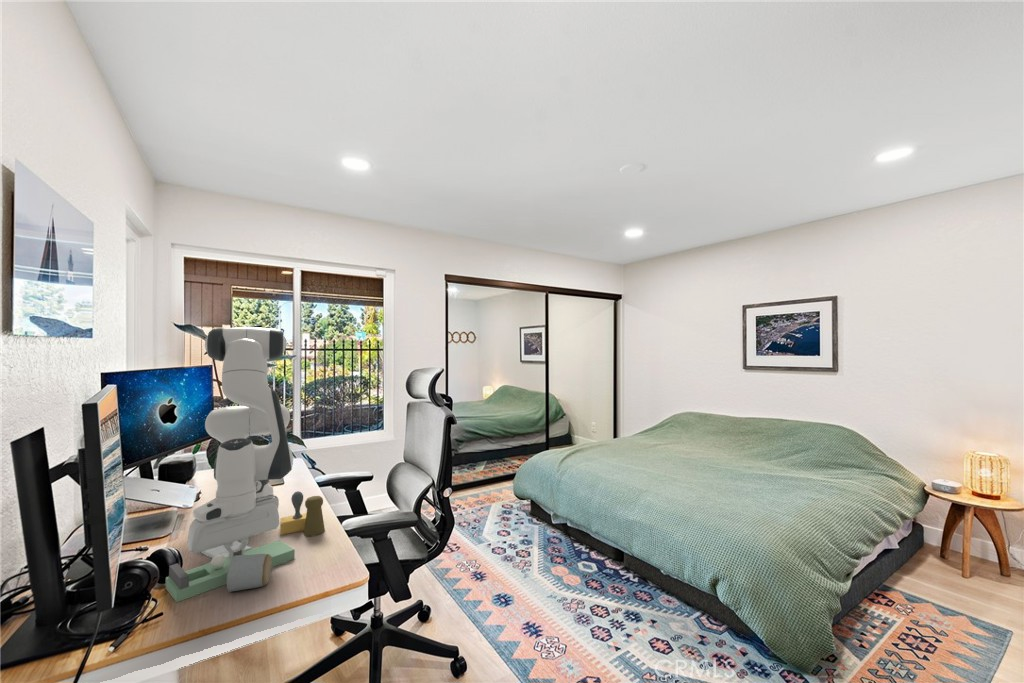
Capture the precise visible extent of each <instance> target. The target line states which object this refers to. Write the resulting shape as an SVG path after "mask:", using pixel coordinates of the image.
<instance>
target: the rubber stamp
mask: <svg viewBox="0 0 1024 683" xmlns="http://www.w3.org/2000/svg"><path fill="white" fill-rule="evenodd" d="M290 501H291V503H292V505H293V508H294V511H295V513H294V515H289V516H284V517H281V518H280V517H279V525H280V526H279V531H280V535H281V536H282V535H286V534H293V533H297V532H301V531H302V532H303V531H304V529H305V521H306V514H307V512H305V513H301V512H300V511H301V507H302V505H303V501H304V494H303V492H301V491H299V490H298V491H295V492H294V493H293V494H292V495H291V500H290Z"/></svg>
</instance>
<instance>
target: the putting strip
mask: <svg viewBox="0 0 1024 683" xmlns="http://www.w3.org/2000/svg"><path fill="white" fill-rule="evenodd" d="M295 551H296V550H295V548H293V547H292V546H290V545H288V544H286V543H285V542H283V541H282V540H278V539H277V540H276V541H273V542H270V543H265V544H263V545H261V546H260V545H259V546H258V547H254V548H252V549H251V550H248V551H245V552H244V555H253V554H269V555H270V556H271V559H272V567H271V568H273V567H276V566H279V565H281V564H285V563H286V562H289V561H292V560H295V559H296V558H295V554H296V553H295ZM230 562H231V560H230V559H229V557H226V563H225V565H224V566H223V567H221V568H219V569H214V568H212V567H211V562H209V563H208V562H207V563H206V564H202V565H200V566H197V567H194V568H190V569H187V570H184V568H183V567H181V565H180V564H179V563H174V564H171V565H169V568H168V569H169V570H168V571H169V572H168V574H169V575H168V576H166V577H165V589H166V590H167V592H168V593H169V594H170V596H171V597H172V599H173V600H174V602H176V603H179V602H181V601H184V600H186V599H189V598H191V597H194V596H197V595H199V594H200V595H201V594H203V593H206V592H208V591H210V590H213V589H216V588H219V587H221V586H224V585H227V573H228V569H229V564H230Z"/></svg>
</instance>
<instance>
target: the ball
mask: <svg viewBox="0 0 1024 683" xmlns="http://www.w3.org/2000/svg"><path fill="white" fill-rule="evenodd" d="M210 563H211V567H212V568H214V569H219V568H221V567H223V566H224V565H225V563H226V557H225V556H224V555H217V556H215V557H214V558H211V561H210Z"/></svg>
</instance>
